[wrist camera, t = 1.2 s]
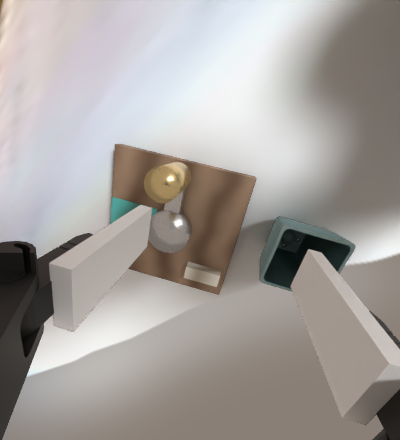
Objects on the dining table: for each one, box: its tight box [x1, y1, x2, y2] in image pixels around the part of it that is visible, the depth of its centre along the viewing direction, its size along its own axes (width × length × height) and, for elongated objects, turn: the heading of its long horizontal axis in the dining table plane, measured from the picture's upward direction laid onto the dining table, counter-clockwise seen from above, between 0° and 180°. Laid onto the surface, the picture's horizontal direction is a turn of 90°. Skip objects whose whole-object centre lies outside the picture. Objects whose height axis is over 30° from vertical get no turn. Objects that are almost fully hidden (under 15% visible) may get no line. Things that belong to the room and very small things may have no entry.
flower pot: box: [260, 217, 355, 291], centre depth 30 cm, size 9×9×9 cm
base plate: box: [110, 144, 256, 295], centre depth 34 cm, size 22×22×4 cm
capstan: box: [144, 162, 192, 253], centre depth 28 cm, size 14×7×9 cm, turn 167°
